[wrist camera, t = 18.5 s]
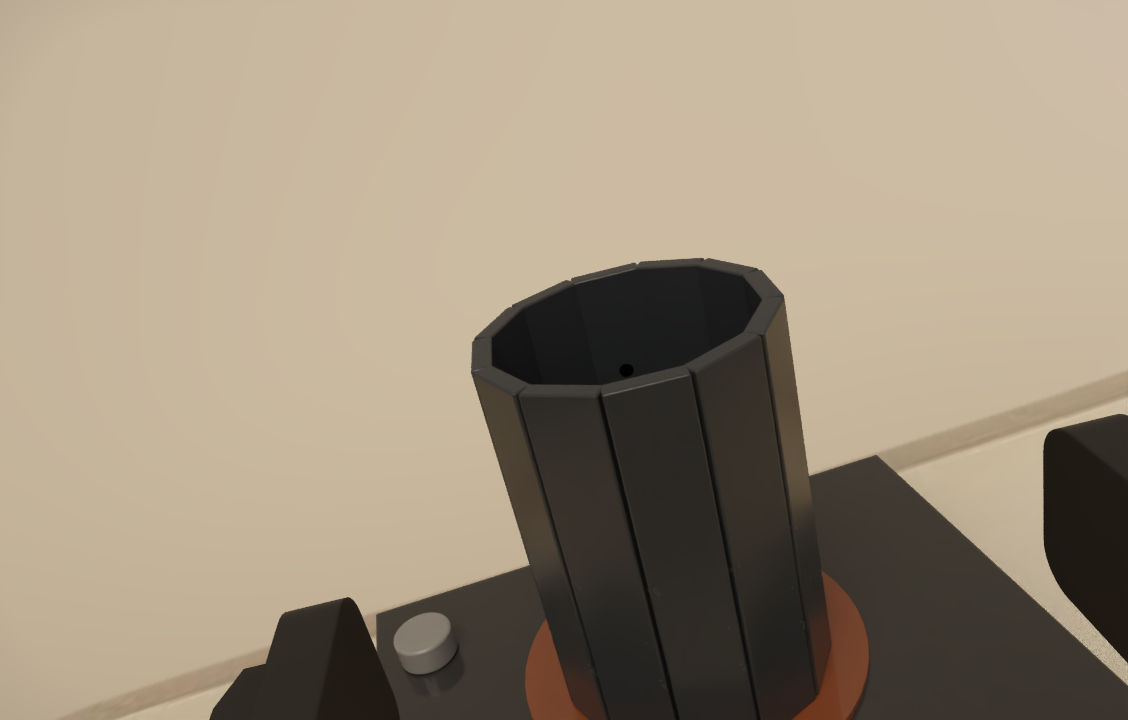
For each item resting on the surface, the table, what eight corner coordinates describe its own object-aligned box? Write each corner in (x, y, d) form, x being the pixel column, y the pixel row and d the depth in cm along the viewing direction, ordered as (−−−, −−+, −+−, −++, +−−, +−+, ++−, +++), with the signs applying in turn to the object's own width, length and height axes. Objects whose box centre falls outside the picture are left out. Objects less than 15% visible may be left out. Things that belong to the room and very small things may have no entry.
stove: (404, 1037, 17) (365, 960, 16) (391, 654, 27) (366, 592, 26) (1153, 765, 19) (1158, 680, 18) (880, 496, 29) (874, 431, 28)
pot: (871, 718, 19) (826, 340, 15) (581, 786, 19) (468, 427, 16) (730, 442, 30) (684, 182, 26) (546, 486, 30) (475, 234, 27)
